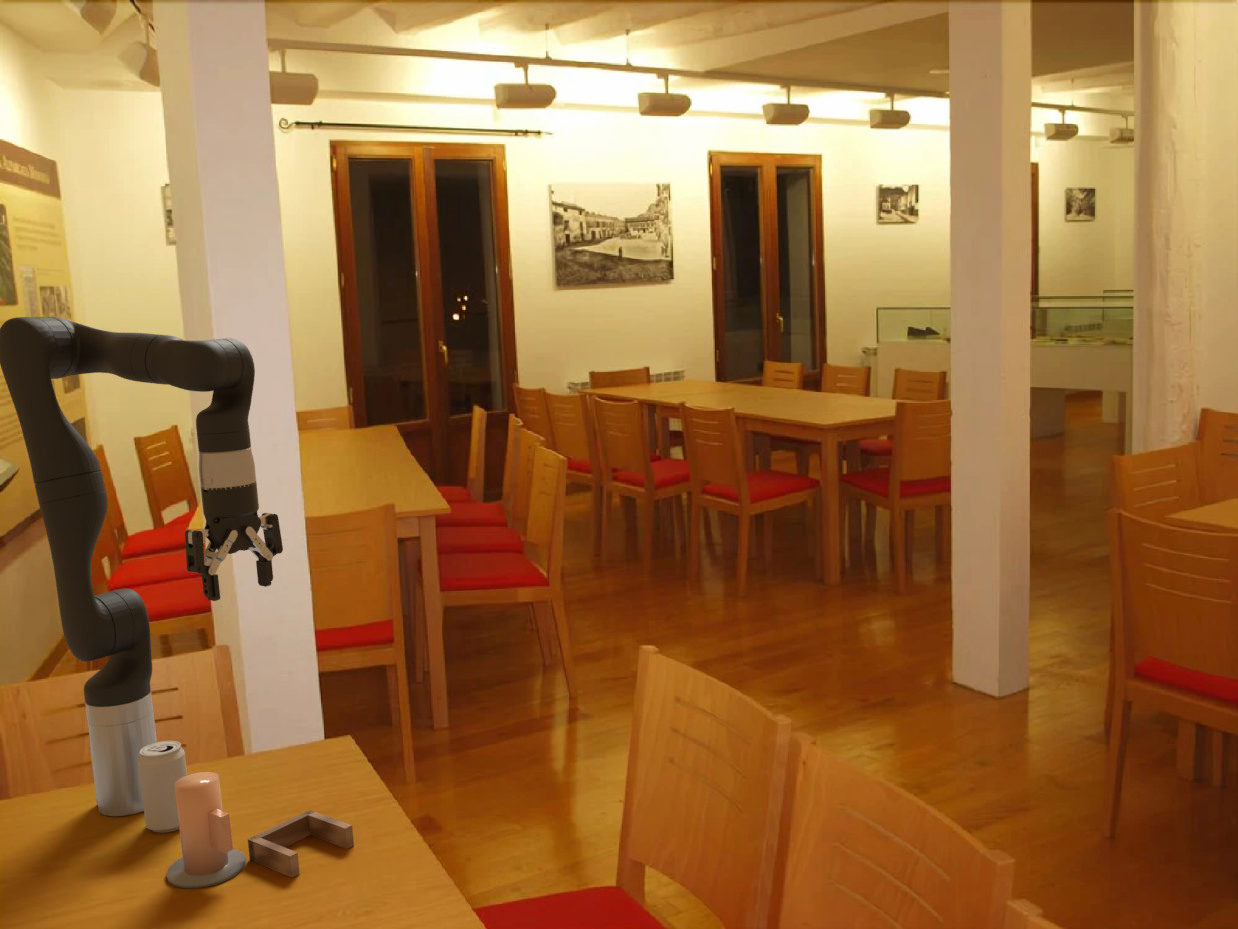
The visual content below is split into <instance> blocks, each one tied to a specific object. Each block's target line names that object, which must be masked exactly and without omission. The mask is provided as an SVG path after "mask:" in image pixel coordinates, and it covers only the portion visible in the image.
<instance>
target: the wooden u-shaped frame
mask: <svg viewBox="0 0 1238 929" xmlns="http://www.w3.org/2000/svg"><path fill="white" fill-rule="evenodd" d="M311 836H312V837H315V838H317V839H320V840H323V841H324V842H327V843H331V844H333V845H335V846H338V847H341V848H343V849H346V850H347V849H351V848H352V847H354V846H355V842H354V831H353V825H352V824H350V823H347V822H345V821H342V820H339V819H336V818H333V817H330V816H328V815H325V814H322V813H319V812H316V811H314V810H311V809H309V810H306V811H304V812H302V813H301V814H298V815H296V816H294V817H292V818H290V819H288V820H286V821H283V822H281V823H279V824H276V825H275V826H273V827H270V828H267V829H266V830H264V831H263V832H260V833H258V834H256V835H253V836H252V837H250V838H247V845H248V853H249V856H248V857H249V860H250V861H252V862H254V863H257V864H258V865H261V866H264V867H266V868H268V869H270V870H272V871H275V872H278V873H280V874H281V875H285V876H286V877H287V876H288V877H290V878H292V879H293V878H294V877H296V876H298V875H300V874H301V873H300V864H299V853H298V852H297V851H294V850H292V849H289V848H288V847H289V846H291V845H293V844H296V843H297V842H299V841H301V840H303V839H305V838H307V837H311Z"/></svg>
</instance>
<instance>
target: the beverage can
mask: <svg viewBox="0 0 1238 929" xmlns="http://www.w3.org/2000/svg"><path fill="white" fill-rule="evenodd" d="M138 767H139V775H140V783H141V791H142V800H143V808H144V811H143V814H144V823H145V827H146V828H147V829H148V830H151V831H152V832H154V833H158V834H159V833H160V834H162V833H163V834H164V833H165V834H166V833H171V832H174V831H177V830H180V829H179V821H178V812H177V803H176V795H175V786H174V784H175V782H176V781H177V780H179V779H180V778H182V777H184V776H187V775H188V769H187V762H186V753H185V750H184V749H183V748H182V744H181V742H180V741H178V740H177V741H176V740H161V741H157V742H156V743H152V744H150V745H147V746H145V747H143V748H142V749H141V750H140V757H139V758H138Z"/></svg>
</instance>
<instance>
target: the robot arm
mask: <svg viewBox="0 0 1238 929" xmlns="http://www.w3.org/2000/svg"><path fill="white" fill-rule="evenodd" d="M255 368H256V367H255V362H254V358H253V355H252V353H251V351H250V350H249V347H247V345H246V344H245V343H243V342H242V341H241V340H238V339H237V338H231V337H229V338H228V337H227V338H217V339H216V338H215V339H205V340H202V339H201V340H184V339H182V337H181V338H180V337H177V336H174V335H169V334H167V335H166V334H160V333H159V334H156V333H145V332H115V331H110V330H102V329H99V328H95V327H91V326H90V325H89V326H87V325H85V324H81V323H78V322H75V321H72V320H69V319H66V318H65V319H64V318H61V317H58V316H57V317H56V316H20V317H19V316H18V317H13V318H12V317H11V318H9V319H7V320H5V322H3V324H2V325H1V327H0V369H1V372H2V375H3V378H4V380H5V383H6V386H7V388H8V391H9V394H10V398H11V401H12V404H13V406H14V410H15V412H16V416H17V418H18V422H19V425H20V428H21V433H22V436H23V439H24V440H23V441H24V443H25V447H26V451H27V455H28V458H29V463H30V469H31V473H32V474H31V475H32V479H33V484H34V488H35V493H36V497H37V503H38V505H39V509H40V512H41V516H42V517H41V518H42V520H43V524H44V527H45V528H44V529H45V532H46V536H47V541H48V545H49V550H50V555H51V560H52V565H53V572H54V577H55V586H56V594H57V600H58V601H57V602H58V607H59V614H60V616H59V617H60V621H61V628H62V632H63V635H64V639H65V642H66V644H67V645H66V646H67V647H68V649H69V650H70V653H71V654H72V655H73V656H74V657H75V658H76V659H77V660H78V661H81V662H92V661H95V660H99V659H102V658H106V657H109V658H108V659H107V661H106V662H105V664H104V665H103V666H102V667H101V668H100V669H99V670H98V671H96V673H94V674H93V675H92V676H91V677H90V678H88V679H87V681H85V684H84V685H83V696H84V701H85V702H84V703H85V711H86V713H85V714H86V718H87V720H86V721H87V726H88V733H89V734H88V735H89V743H90V746H89V750H90V758H91V759H90V760H91V761H90V762H91V766H92V768H91V769H92V775H93V782H94V792H95V800H96V804H97V807H98V812H99V813H100V814H102V815H104V816H109V817H123V816H128V815H135V814H138V813H139V814H140V813H141V812H144V808H143V800H142V791H141V783H140V775H139V767H138V758H139V757H140V750H141V749H142V748H143V747H145V746H147V745H150V744H152V743H156V742H158V741H157V740H158V739H157V734H156V733H157V732H156V722H155V714H154V713H155V712H154V707H153V698H152V689H151V688H152V687H151V679H152V676H153V659H152V642H151V641H152V639H151V624H150V617H149V612H148V610H147V606H146V604H145V601H144V600H143V597H141V596H140V594H139V593H138V592H137V591H135V590H133V589H132V588H131V589H130V588H119V589H115V590H111V591H107V592H103V593H100V594H96V595H95V593H94V588H93V582H92V561H93V555H94V551H95V548H96V545H97V542H98V540H99V537H100V534H101V532H102V529H103V525H104V522H105V520H106V516H107V511H108V505H109V501H108V494H107V489H106V485H105V484H106V483H105V481H104V476H103V473H102V468H101V464H100V461H99V458H98V456H97V455H96V453H95V452H94V451H93V449H92V448H91V447H90V444H88V443H87V441H86V440H85V439H84V438H83V436H82V435H81V434H80V433H79V432H78V430H77V429H76V428H75V427H74V426H73V425H72V424H71V421H69V419H68V418H67V417H66V416H65V414H64V412H63V411H62V409H61V406H60V405H59V401H58V399H57V395H56V392H55V389H54V386H53V381H52V379H53V380H55V379H57V380H58V379H62V378H66V377H70V376H76V375H77V376H78V375H86V374H94V373H97V374H100V373H101V374H102V373H103V374H109V375H110V374H111V375H114V376H117V377H120V378H121V379H124V380H129V381H133V382H138V383H146V384H147V383H148V384H154V385H155V384H156V385H164V386H165V385H170V386H171V387H174V388H178V389H182V390H184V391H189V392H190V391H191V392H200V393H206V392H212V395H211V396H212V397H211V401H210V404H209V405H208V406H207V407H206V408H204V409H202V410H200V411H199V413H197V415H196V418H195V428H196V430H195V431H196V438H197V446H198V474H199V485H200V492H201V493H200V495H201V503H202V504H201V505H202V513H203V515H204V516H203V517H204V519H205V525H204V528H201V529H186V530H185V531H184V539H185V540H184V541H185V558H186V560H185V561H186V570H187V571H188V573H189V572H190V573H196V574H199V575H200V576H201V582H202V589H203V590H202V591H203V596H204V597H205V598H207V600H208V601H213V602H217V601H219V600H221V590H220V583H219V582H220V581H219V574H216V573H217V571H218V569H219V567H220V565H221V563H222V562H224V560H225V559H226V557H227V555H228V554H229V555H231V554H236V553H238V552H240V551H250V552H251V553H252V554H253V555H254V557H256V558H257V560H255V564H256V566H255V567H256V575H257V583H258V585H259V586H261V587H265V588H266V587H270V586H271V585H272V582H273V579H274V573H273V572H274V571H273V563H272V562H273V559H274V557H276V555H279V554H282V553H283V550H284V548H283V539H282V533H281V526H280V522H279V516H278V514H276V513H269V512H263V513H262V514H261V515H260V516H259V514H258V511H259V509H260V504H259V494H258V484H257V483H258V482H257V477H256V474H257V473H256V465H255V460H254V456H253V451H252V444H251V443H252V442H251V433H250V427H249V426H250V425H249V417H250V416H249V414H250V410H251V405H252V399H253V398H252V397H253V391H254V384H255V373H256V371H255V370H256V369H255ZM260 528H261V529H262V531H263V536H264V537H263V538H264V540H263V539H262V538H261V537H260V536H259V535H258V533H259V530H260ZM207 540H208V541H209V542H208V543H207V547H206V548H205V549H204V544H206V542H207Z"/></svg>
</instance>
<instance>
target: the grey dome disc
mask: <svg viewBox="0 0 1238 929" xmlns="http://www.w3.org/2000/svg"><path fill="white" fill-rule="evenodd" d="M227 854H228V863H227V865H226V866H225V867H224V868H222V869H221V870H219V871H217V872H214V873H211V874H207V875H200V876H194V875H189V874H187V873H186V872H185V871H184V863H183V856H182V857H180V858H178V859H177V860H175V861H174V862H173V863H172V864H171V865H170V866H169V867H168V868H167V871H166V879H167V882H168V883H169V884H170V885H171V886H173V887H176V888H180V889H188V890H189V889H202V888H207V887H213V886H215V885H218V884H221V883H223V882H226V881H229V880H230V879H232V878H234V877H236V876H237V875H238V874H240V873H241V872H242V871H243V870H244V868H245V867H246V861H247V859H246V855H245V854H244V852H243V851H241V850H239V849H237V848H233V850H231V851H229V852H227Z"/></svg>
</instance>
